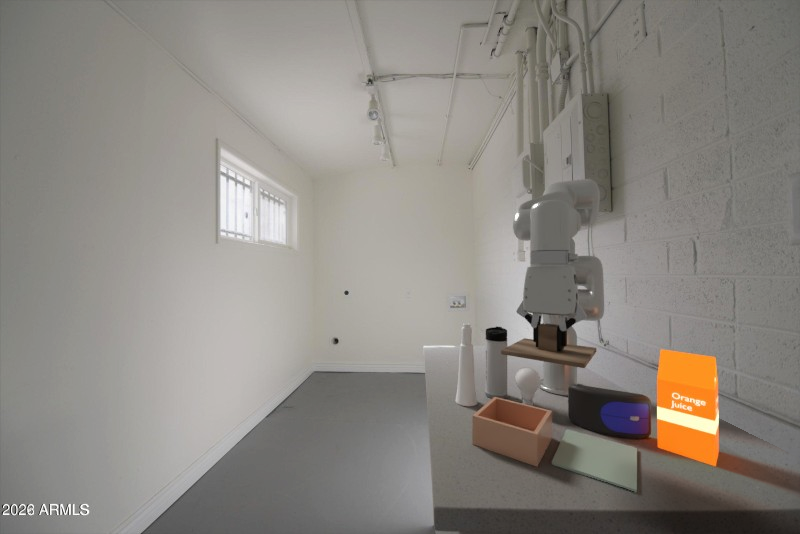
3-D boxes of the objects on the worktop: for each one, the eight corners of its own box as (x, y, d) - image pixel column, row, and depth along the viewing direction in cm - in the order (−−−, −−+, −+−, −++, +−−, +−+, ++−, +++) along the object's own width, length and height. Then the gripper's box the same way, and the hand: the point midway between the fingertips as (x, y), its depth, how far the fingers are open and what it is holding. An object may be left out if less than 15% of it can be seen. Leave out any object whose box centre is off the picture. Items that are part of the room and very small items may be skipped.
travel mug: (509, 394, 95) (509, 327, 96) (504, 401, 90) (504, 330, 90) (488, 390, 99) (488, 325, 99) (482, 397, 93) (482, 328, 93)
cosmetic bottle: (453, 404, 87) (453, 324, 88) (457, 396, 93) (457, 321, 94) (475, 408, 85) (476, 326, 86) (478, 399, 91) (478, 322, 91)
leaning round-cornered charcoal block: (568, 427, 75) (568, 387, 75) (568, 420, 79) (568, 382, 79) (654, 446, 67) (654, 401, 67) (650, 436, 71) (649, 394, 71)
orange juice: (664, 435, 72) (663, 346, 72) (719, 451, 65) (718, 354, 65) (657, 447, 67) (656, 352, 67) (716, 467, 60) (715, 360, 60)
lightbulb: (543, 415, 81) (543, 372, 81) (517, 412, 83) (517, 370, 83) (537, 405, 87) (537, 365, 88) (513, 403, 89) (513, 363, 89)
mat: (566, 431, 73) (566, 429, 73) (636, 450, 65) (636, 447, 65) (551, 464, 60) (551, 461, 60) (636, 493, 53) (636, 490, 53)
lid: (524, 344, 77) (524, 317, 77) (596, 354, 68) (596, 324, 68) (501, 357, 65) (501, 325, 65) (584, 371, 56) (584, 335, 56)
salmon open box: (494, 421, 78) (494, 396, 78) (552, 438, 70) (552, 410, 70) (472, 444, 67) (472, 415, 67) (537, 466, 60) (537, 434, 60)
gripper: (598, 260, 64) (598, 350, 64) (515, 261, 75) (516, 339, 74) (592, 258, 59) (593, 358, 58) (504, 260, 69) (504, 345, 69)
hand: (549, 346), depth 66 cm, fingers closed on lid, 3 cm apart
